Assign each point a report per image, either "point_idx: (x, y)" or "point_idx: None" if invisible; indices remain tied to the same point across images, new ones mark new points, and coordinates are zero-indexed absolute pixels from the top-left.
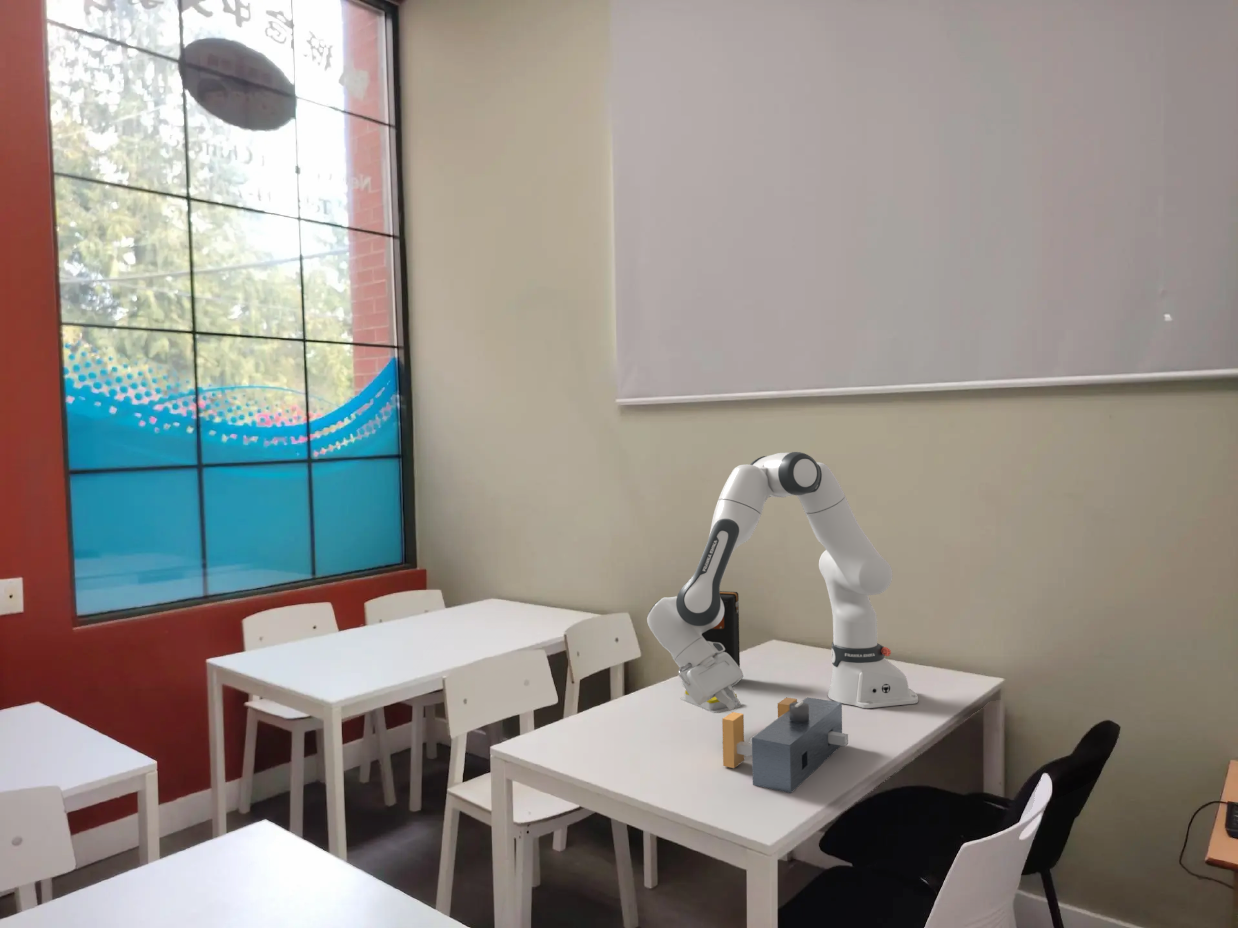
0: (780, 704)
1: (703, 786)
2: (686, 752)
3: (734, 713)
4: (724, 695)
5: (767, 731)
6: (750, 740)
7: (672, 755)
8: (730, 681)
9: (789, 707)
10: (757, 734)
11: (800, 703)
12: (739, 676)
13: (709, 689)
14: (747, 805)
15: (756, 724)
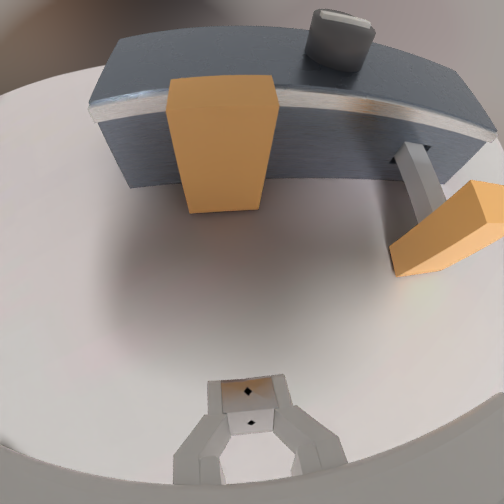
0: (276, 99)
1: (495, 254)
2: (419, 408)
3: (488, 210)
4: (333, 433)
5: (458, 107)
6: (495, 137)
7: (446, 415)
8: (171, 496)
9: (365, 43)
10: (483, 123)
11: (344, 15)
12: (26, 464)
13: (489, 430)
14: (479, 168)
15: (88, 371)
